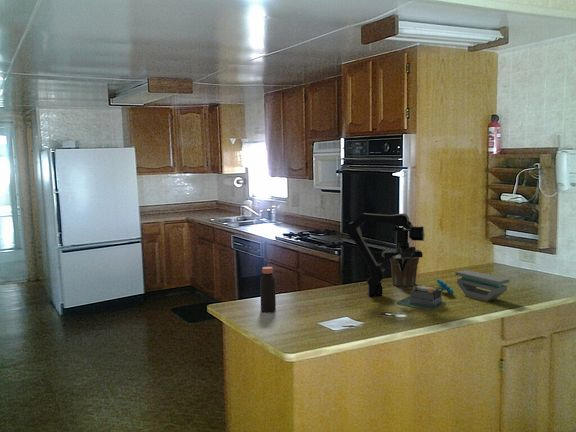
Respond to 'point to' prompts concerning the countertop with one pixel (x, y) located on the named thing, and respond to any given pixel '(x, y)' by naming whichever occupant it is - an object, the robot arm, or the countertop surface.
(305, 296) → the countertop surface
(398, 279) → the plant pot
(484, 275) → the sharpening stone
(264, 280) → the bottle
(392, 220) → the robot arm
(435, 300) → the heatsink board
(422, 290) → the retention strap
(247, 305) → the countertop surface
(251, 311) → the countertop surface
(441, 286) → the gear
